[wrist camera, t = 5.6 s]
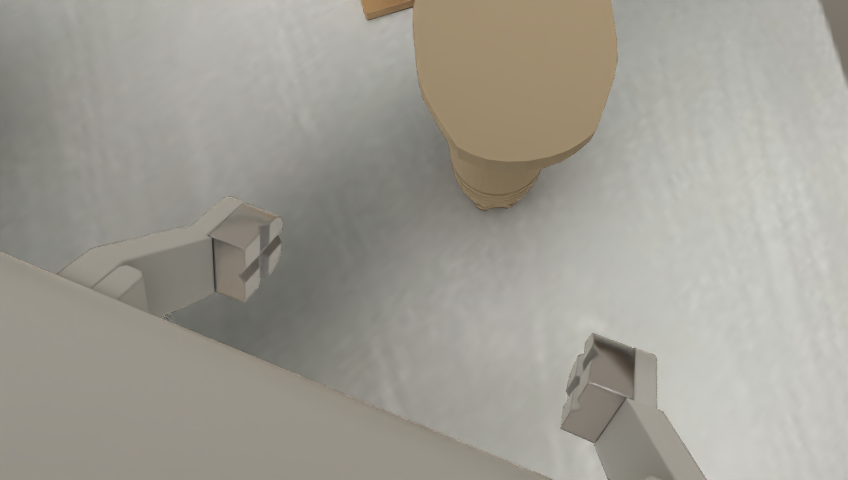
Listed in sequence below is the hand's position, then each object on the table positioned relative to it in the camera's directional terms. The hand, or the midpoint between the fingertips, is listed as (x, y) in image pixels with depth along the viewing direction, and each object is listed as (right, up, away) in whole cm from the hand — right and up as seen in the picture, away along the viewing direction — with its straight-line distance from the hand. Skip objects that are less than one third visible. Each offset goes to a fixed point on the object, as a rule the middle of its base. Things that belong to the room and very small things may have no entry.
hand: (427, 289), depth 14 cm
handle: (+3, +4, +15) cm, 16 cm away
